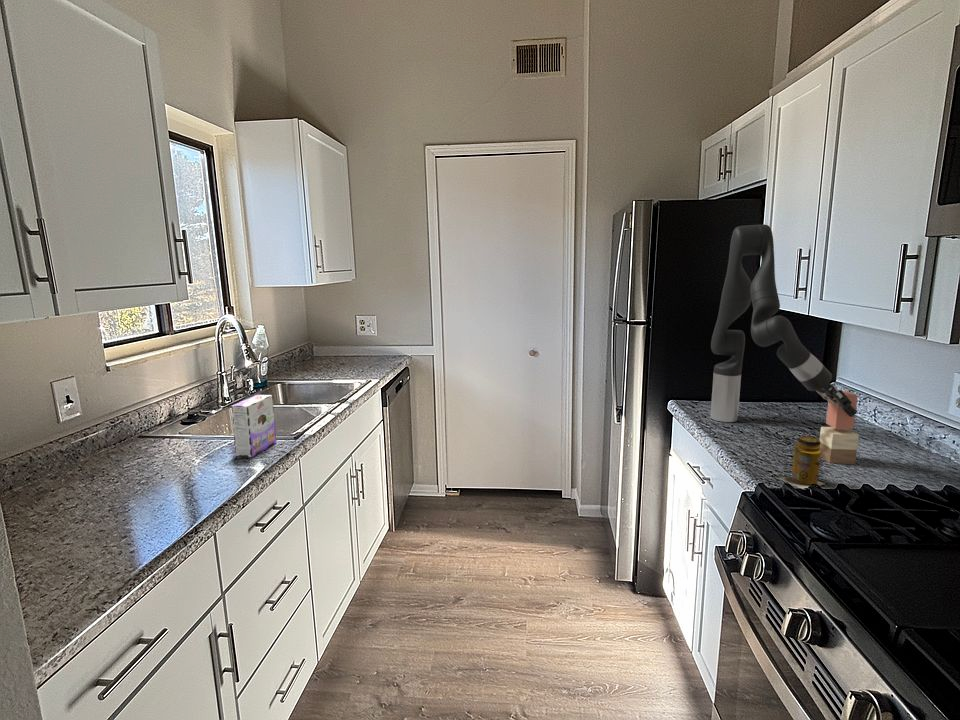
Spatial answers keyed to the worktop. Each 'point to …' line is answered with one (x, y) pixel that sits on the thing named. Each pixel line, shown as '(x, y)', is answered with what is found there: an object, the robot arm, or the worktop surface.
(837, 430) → the tower top
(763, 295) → the robot arm
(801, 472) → the condiment
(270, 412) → the candy box
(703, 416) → the worktop surface
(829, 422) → the tall block
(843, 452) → the tower base
